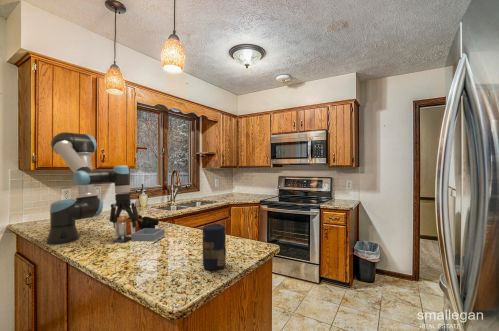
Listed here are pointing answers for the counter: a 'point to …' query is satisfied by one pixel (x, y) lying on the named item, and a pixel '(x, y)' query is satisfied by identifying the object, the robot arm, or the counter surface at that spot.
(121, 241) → the collar plate
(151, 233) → the bin
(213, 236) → the canister
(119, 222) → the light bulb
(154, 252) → the counter surface
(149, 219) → the tool
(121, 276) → the counter surface
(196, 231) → the counter surface
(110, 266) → the counter surface
